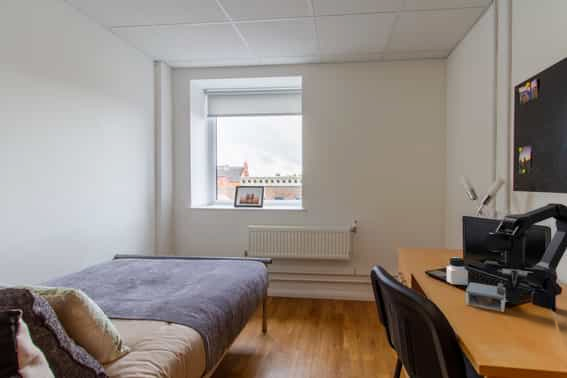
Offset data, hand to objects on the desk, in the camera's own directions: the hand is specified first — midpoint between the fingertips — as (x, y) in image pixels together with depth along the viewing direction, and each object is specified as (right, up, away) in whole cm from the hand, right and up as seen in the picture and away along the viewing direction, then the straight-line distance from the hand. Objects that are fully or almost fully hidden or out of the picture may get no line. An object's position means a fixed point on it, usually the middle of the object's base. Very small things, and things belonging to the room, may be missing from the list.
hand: (514, 292), depth 118 cm
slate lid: (-7, -1, +5) cm, 9 cm away
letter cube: (-8, -6, +5) cm, 11 cm away
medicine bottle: (-5, -6, +31) cm, 32 cm away
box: (-7, -7, +6) cm, 11 cm away
